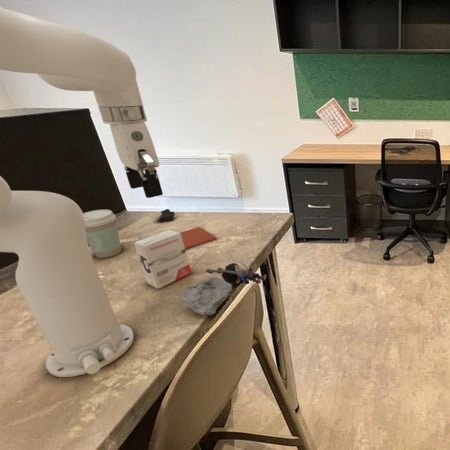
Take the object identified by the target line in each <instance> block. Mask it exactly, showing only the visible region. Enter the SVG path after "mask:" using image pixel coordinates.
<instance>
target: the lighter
mask: <svg viewBox="0 0 450 450" xmlns="http://www.w3.org/2000/svg"><path fill="white" fill-rule="evenodd" d="M160 213H161V215H160V216H159V217H157V218H156V219H155V221H156V222H160V223H163V222H166V221H170V220H172V219H174V217H175V216H176V214H175V212H174V211H171V209H169V208H165V209H164V210H161V211H160Z"/></svg>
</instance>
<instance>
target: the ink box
mask: <svg viewBox="0 0 450 450" xmlns="http://www.w3.org/2000/svg"><path fill="white" fill-rule="evenodd" d="M133 245H134V247H135V249H136V253H137V256H138V258H139V261H140V265H141V267H142V270H143V273H144V276H145V280H146V282H147V284H149V285H150V286H152V287H154V288H156V289H161V288H163V287H166V286H167V285H169V284H171V283H173V282H175V281H177V280H179V279H182V278H183V277H185V276H187V275H190V274H191V273H192V270H191V267H190V262H189V259H188V255H187V251H186V250H185V247H184V244H183V240H182V236H181V233H180V232H178V231H174V230H171V229H167V230H165V231H162V232H158V233H156V234H153V235H151V236H148V237H145V238H143V239H139V240H137V241H135V242H133Z"/></svg>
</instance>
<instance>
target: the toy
mask: <svg viewBox="0 0 450 450" xmlns="http://www.w3.org/2000/svg"><path fill="white" fill-rule="evenodd" d="M238 263H239V264H241V265H239V264H238ZM238 263H235V262H232V263H229V264H227V265H226V266H224V268H223V267H217V269H213V268H212V269H210V268H206V270H205V272H206V273H208V274H210V275H213V274H215V273H217V274H219V275H221V276H222V277H221V278H222V279H223V281H226V282H227V283H235V284H239V283H241V281H242V282H243V283H244V284H245V285H246V284H247V285H249V284H250V282H252V283H253V282H256V283H255V284H258V285H260V284H261V283H262V281H266V279H267V274H264V275H261V274H259V273H258V272H254V270H253V269H252V268H251V267H249V266H248V265H247V264H246V263H245V262H243V260H240V261H238Z"/></svg>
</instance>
